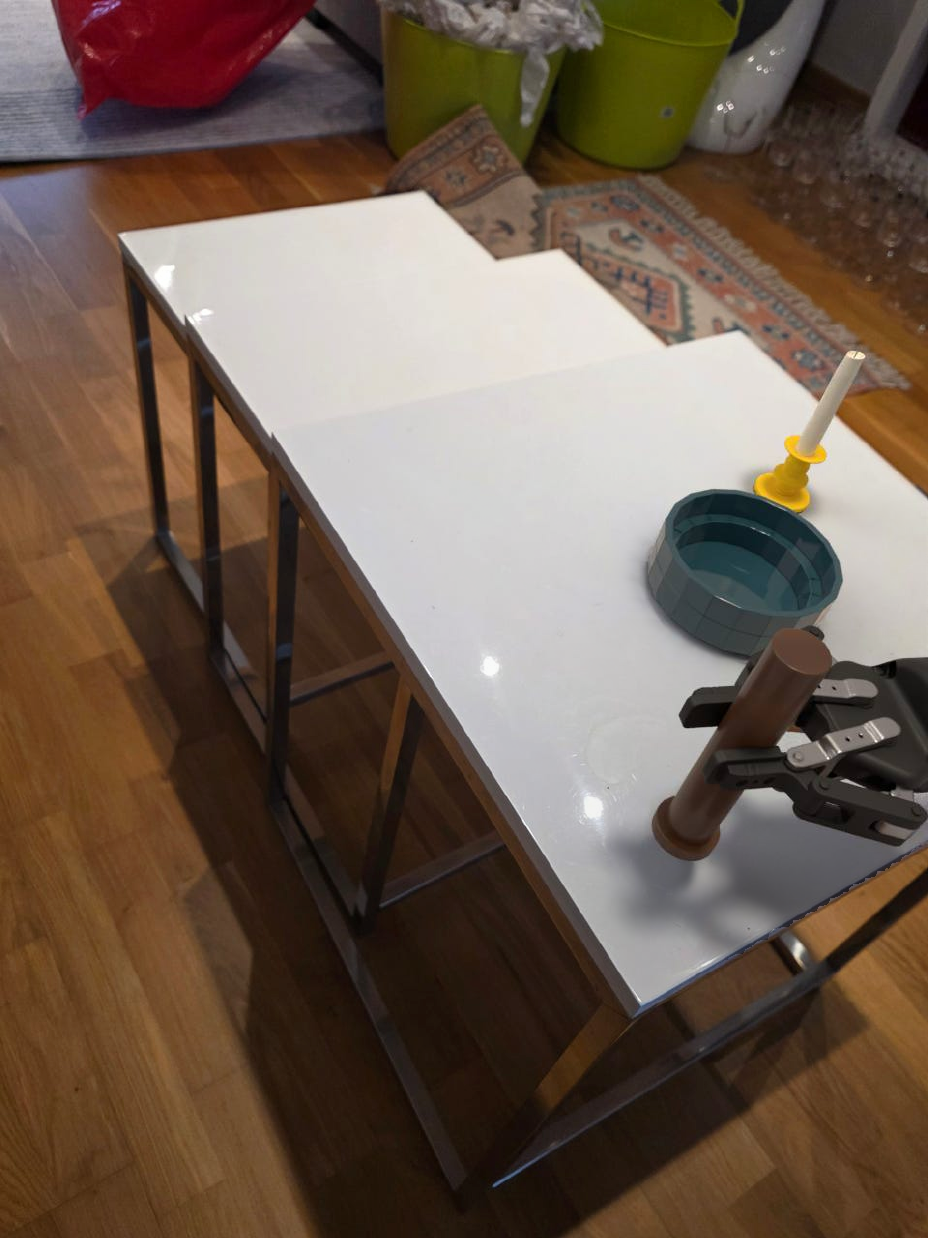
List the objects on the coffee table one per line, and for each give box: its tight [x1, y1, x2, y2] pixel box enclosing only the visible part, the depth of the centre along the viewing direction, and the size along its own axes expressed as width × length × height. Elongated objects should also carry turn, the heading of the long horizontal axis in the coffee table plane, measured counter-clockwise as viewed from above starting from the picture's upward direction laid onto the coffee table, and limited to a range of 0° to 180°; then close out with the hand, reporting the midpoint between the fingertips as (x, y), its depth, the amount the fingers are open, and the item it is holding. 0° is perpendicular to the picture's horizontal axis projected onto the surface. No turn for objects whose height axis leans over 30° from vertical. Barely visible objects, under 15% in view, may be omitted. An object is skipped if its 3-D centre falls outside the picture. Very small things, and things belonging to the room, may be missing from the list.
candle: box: [753, 347, 866, 514], centre depth 83 cm, size 5×5×16 cm
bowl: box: [647, 488, 844, 657], centre depth 77 cm, size 14×14×5 cm
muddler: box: [651, 628, 833, 862], centre depth 52 cm, size 4×4×17 cm
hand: (698, 739), depth 50 cm, fingers closed on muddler, 3 cm apart
